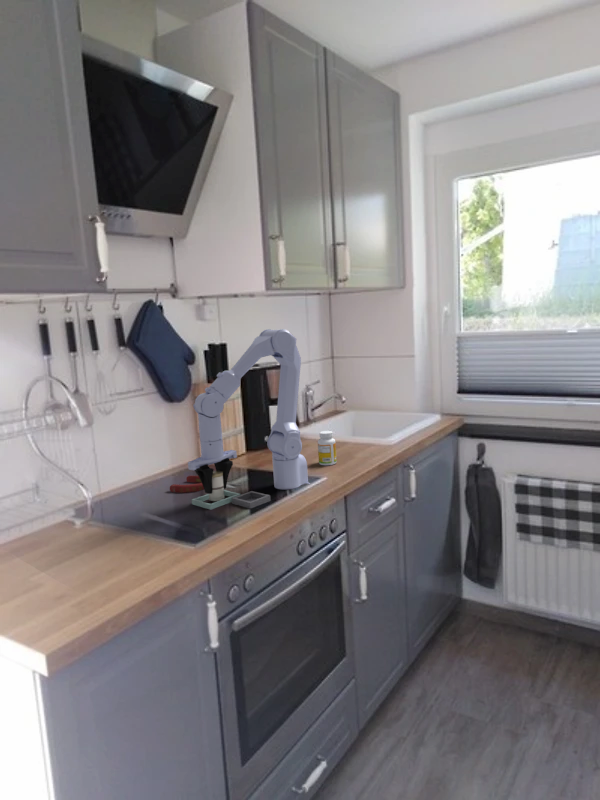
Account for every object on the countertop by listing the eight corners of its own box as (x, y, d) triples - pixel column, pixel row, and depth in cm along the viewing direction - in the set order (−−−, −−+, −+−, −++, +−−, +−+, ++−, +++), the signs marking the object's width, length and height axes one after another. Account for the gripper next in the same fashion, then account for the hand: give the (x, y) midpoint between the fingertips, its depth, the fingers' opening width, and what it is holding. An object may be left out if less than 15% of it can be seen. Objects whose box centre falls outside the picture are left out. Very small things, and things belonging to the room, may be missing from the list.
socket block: (252, 498, 154) (251, 491, 154) (270, 503, 150) (270, 495, 149) (232, 506, 149) (231, 498, 149) (250, 511, 145) (250, 503, 144)
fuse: (217, 495, 154) (215, 469, 153) (228, 497, 152) (226, 471, 151) (205, 499, 151) (203, 473, 150) (216, 502, 149) (214, 475, 148)
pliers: (231, 497, 158) (230, 488, 158) (168, 494, 165) (167, 485, 165) (249, 485, 169) (248, 476, 169) (189, 482, 176) (188, 474, 176)
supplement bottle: (329, 460, 189) (328, 429, 188) (340, 463, 185) (338, 431, 183) (315, 463, 186) (313, 432, 185) (325, 466, 182) (323, 434, 180)
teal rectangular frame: (222, 496, 158) (221, 489, 158) (241, 501, 153) (240, 493, 153) (192, 507, 151) (191, 499, 151) (210, 512, 146) (210, 504, 145)
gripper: (222, 432, 157) (227, 481, 159) (178, 443, 147) (183, 495, 149) (240, 435, 153) (244, 485, 155) (195, 446, 142) (200, 500, 144)
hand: (215, 490), depth 151 cm, fingers closed on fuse, 4 cm apart
